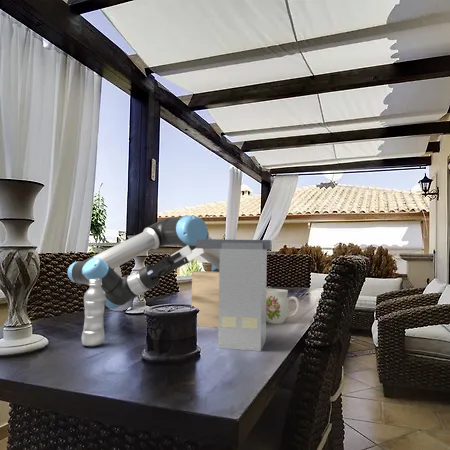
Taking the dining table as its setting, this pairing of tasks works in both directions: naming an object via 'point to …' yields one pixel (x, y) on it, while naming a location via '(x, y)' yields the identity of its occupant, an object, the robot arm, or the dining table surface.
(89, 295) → the plastic bottle
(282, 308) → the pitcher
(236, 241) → the bar
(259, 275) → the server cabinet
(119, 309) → the container
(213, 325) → the oak side stand
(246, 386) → the dining table surface
